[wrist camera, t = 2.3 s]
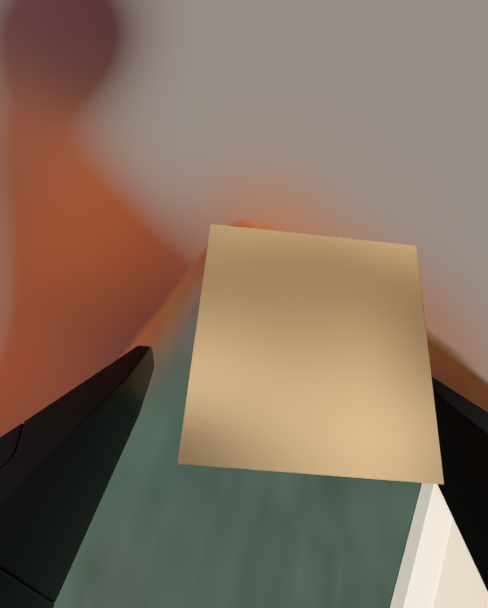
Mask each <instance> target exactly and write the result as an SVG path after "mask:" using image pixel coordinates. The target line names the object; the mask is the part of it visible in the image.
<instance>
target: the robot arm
mask: <svg viewBox="0 0 488 608" xmlns="http://www.w3.org/2000/svg"><path fill="white" fill-rule="evenodd" d="M153 369H154V360H153V352H152V348H151V347H150V346H141V345H140V346H137V347H135V348H134V349H132V350H131V351H129V352H128V353H126V354H125V355H123V356H122V357H120V358H119V359H117V360H116V361H114V362H113V363H111V364H110V365H108V366H107V367H105V368H104V369H102V370H101V371H99V372H98V373H96V374H95V375H93V376H92V377H91V378H89V379H87V380H86V381H84V382H83V383H81V384H80V385H78V386H77V387H75V388H74V389H72V390H71V391H69V392H68V393H66V394H65V395H63V396H62V397H60V398H59V399H57V400H56V401H54V402H53V403H51V404H50V405H48V406H47V407H45V408H44V409H42V410H41V411H39V412H38V413H36V414H35V415H33V416H32V417H31V418H29V419H28V420H26V421H25V422H24V424H20V425H18V426H17V427H15V428H14V429H12V430H11V431H9V432H8V433H6V434H5V435H3V436H1V437H0V608H53V606H54V602H55V601H56V599H57V597H58V595H59V592H60V590H61V588H62V586H63V583H64V581H65V579H66V577H67V575H68V572H69V570H70V568H71V566H72V563H73V561H74V559H75V557H76V554H77V552H78V550H79V548H80V545H81V543H82V541H83V539H84V536H85V534H86V532H87V530H88V528H89V525H90V523H91V521H92V519H93V516H94V514H95V512H96V510H97V507H98V505H99V503H100V501H101V498H102V496H103V494H104V492H105V489H106V487H107V485H108V483H109V481H110V478H111V476H112V474H113V472H114V469H115V467H116V465H117V463H118V460H119V458H120V456H121V454H122V451H123V449H124V447H125V445H126V442H127V440H128V438H129V436H130V434H131V431H132V429H133V427H134V425H135V422H136V420H137V418H138V415H139V413H140V410H141V407H142V404H143V401H144V398H145V395H146V392H147V389H148V385H149V382H150V379H151V376H152V373H153ZM432 385H433V394H434V402H435V411H436V420H437V428H438V437H439V445H440V454H441V462H442V471H443V480H444V484H438V487H439V489H440V491H441V493H442V495H443V497H444V499H445V501H446V504H447V506H448V508H449V510H450V512H451V514H452V516H453V519H454V521H455V523H456V525H457V527H458V529H459V531H460V534H461V536H462V538H463V540H464V542H465V544H466V546H467V549H468V551H469V553H470V555H471V557H472V559H473V561H474V564H475V566H476V568H477V570H478V572H479V574H480V576H481V579H482V581H483V583H484V585H485V587H486V589H487V591H488V412H486V411H484V410H483V409H481V408H480V407H478V406H477V405H475V404H474V403H472V402H470V401H469V400H467V399H466V398H464V397H463V396H461V395H459V394H458V393H456V392H455V391H453V390H452V389H450V388H449V387H447V386H445V385H444V384H442V383H441V382H439V381H438V380H436V379H435V378H433V377H432Z"/></svg>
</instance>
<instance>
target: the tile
mask: <svg viewBox="0 0 488 608" xmlns="http://www.w3.org/2000/svg"><path fill="white" fill-rule="evenodd" d="M390 608H488V591H487V589H486V587H485V585H484V583H483V581H482V579H481V576H480V574H479V572H478V570H477V568H476V566H475V564H474V561H473V559H472V557H471V555H470V553H469V551H468V549H467V546H466V544H465V542H464V540H463V538H462V536H461V534H460V531H459V529H458V527H457V525H456V523H455V521H454V519H453V516H452V514H451V512H450V510H449V508H448V506H447V504H446V501H445V499H444V497H443V495H442V493H441V491H440V489H439V487H438V484H432V483H422V485H421V489H420V493H419V497H418V501H417V505H416V509H415V513H414V516H413V520H412V524H411V528H410V532H409V536H408V540H407V543H406V547H405V551H404V555H403V559H402V563H401V567H400V571H399V574H398V578H397V582H396V586H395V590H394V594H393V598H392V601H391V605H390Z"/></svg>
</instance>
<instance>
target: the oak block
mask: <svg viewBox="0 0 488 608" xmlns="http://www.w3.org/2000/svg"><path fill="white" fill-rule="evenodd" d="M177 464H187V465H200V466H213V467H226V468H239V469H252V470H265V471H277V472H290V473H303V474H316V475H329V476H342V477H355V478H368V479H381V480H393V481H406V482H419V483H432V484H444V480H443V471H442V462H441V454H440V445H439V437H438V428H437V420H436V411H435V402H434V394H433V385H432V377H431V368H430V360H429V351H428V342H427V334H426V325H425V317H424V308H423V300H422V292H421V282H420V275H419V265H418V257H417V248H416V246H414V245H405V244H394V243H386V242H376V241H367V240H357V239H347V238H338V237H328V236H319V235H310V234H300V233H290V232H281V231H271V230H262V229H252V228H243V227H233V226H224V225H213V224H211V228H210V235H209V242H208V249H207V256H206V263H205V270H204V278H203V285H202V292H201V299H200V306H199V313H198V320H197V328H196V335H195V342H194V349H193V356H192V363H191V370H190V378H189V385H188V392H187V399H186V406H185V413H184V420H183V428H182V435H181V442H180V449H179V456H178V463H177Z"/></svg>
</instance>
